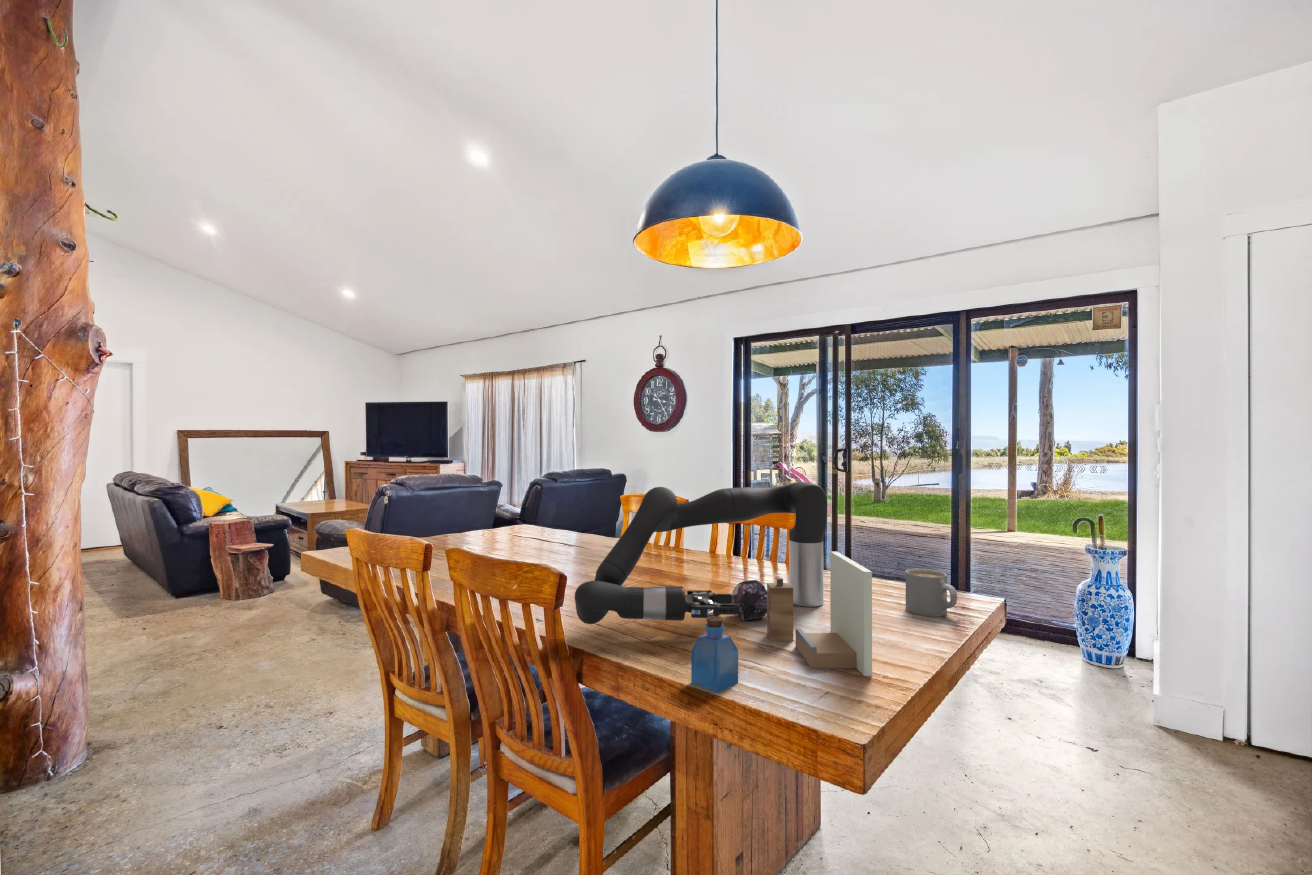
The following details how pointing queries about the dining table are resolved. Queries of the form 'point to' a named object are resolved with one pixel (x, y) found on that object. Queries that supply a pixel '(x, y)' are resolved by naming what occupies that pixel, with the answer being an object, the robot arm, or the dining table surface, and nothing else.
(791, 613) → the knob board
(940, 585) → the coffee mug
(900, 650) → the dining table surface
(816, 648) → the cleat board
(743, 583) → the mineral specimen
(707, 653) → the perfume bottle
